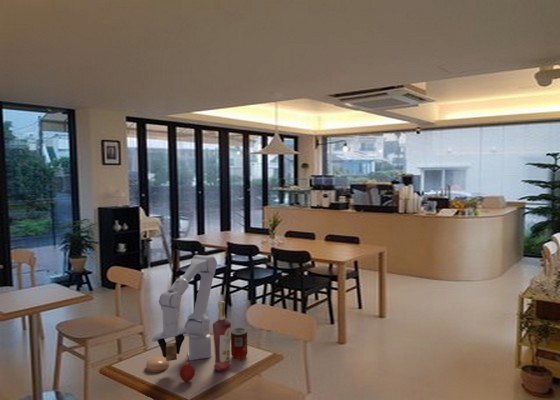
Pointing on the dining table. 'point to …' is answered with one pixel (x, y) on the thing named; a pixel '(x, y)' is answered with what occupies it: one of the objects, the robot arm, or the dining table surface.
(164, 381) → the dining table surface
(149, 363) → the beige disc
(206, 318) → the robot arm
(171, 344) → the walnut block
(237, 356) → the soda can
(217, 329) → the liquor
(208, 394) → the dining table surface
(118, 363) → the dining table surface
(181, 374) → the onion
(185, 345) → the dining table surface
